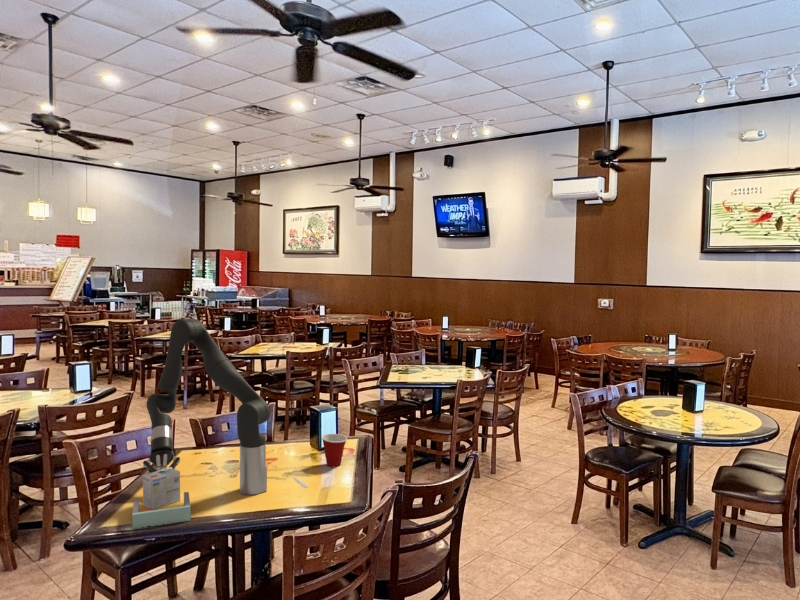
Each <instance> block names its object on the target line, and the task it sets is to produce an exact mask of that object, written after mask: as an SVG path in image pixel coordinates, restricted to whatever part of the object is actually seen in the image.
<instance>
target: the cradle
mask: <svg viewBox="0 0 800 600" xmlns="http://www.w3.org/2000/svg"><path fill="white" fill-rule="evenodd" d="M191 507H192V506H191V501H190V493H189V491H186V492H185V491H184V492H183V505H181V506H175V507H174V506H173V507H167V508H160V509H153V510H145V511H140V497H139V498H138V497H137V498H134V499H133V505H132V514H131V522H132V523H131V524H132V526H131V527H132V530H136V529H135V528H138V529H143V528H142V527H144V528H148V527H147V526H151V527H157V526H163V524H164V525H169V524H170V525H171V524H176V523H182V522H188V521H191V516H192V515H191V509H192V508H191ZM156 525H157V526H156Z"/></svg>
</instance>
